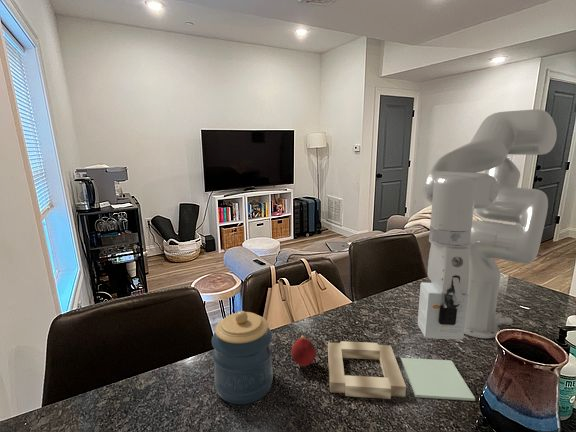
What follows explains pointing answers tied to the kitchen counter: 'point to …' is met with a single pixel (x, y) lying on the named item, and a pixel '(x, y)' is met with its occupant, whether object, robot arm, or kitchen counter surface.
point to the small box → (430, 314)
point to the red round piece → (303, 351)
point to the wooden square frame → (362, 384)
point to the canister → (242, 358)
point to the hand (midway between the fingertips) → (440, 315)
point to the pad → (436, 379)
